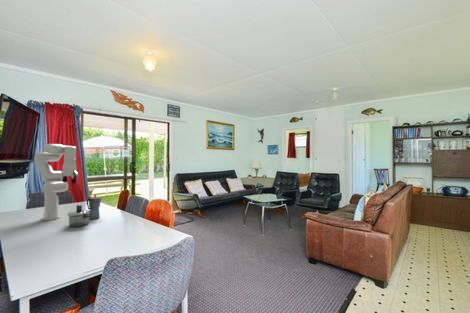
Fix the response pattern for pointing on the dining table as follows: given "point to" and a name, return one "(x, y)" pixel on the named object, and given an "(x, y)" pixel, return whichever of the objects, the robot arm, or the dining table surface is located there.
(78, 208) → the lid
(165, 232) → the dining table surface
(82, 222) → the cooker pot
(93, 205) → the moka pot
